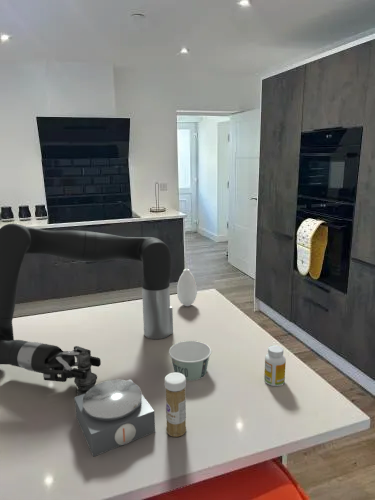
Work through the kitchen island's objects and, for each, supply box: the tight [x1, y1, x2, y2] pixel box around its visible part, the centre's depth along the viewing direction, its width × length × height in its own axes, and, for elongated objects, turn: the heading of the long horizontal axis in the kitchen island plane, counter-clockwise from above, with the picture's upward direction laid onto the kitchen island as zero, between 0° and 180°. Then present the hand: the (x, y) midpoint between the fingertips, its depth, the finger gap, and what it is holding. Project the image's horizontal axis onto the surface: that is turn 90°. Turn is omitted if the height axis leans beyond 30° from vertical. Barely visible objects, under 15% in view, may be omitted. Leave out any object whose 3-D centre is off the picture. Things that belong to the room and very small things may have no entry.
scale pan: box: [83, 379, 143, 421], centre depth 85 cm, size 13×13×3 cm
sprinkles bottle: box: [164, 372, 187, 438], centre depth 83 cm, size 5×5×13 cm
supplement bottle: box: [263, 344, 286, 387], centre depth 101 cm, size 5×5×10 cm
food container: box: [168, 340, 212, 381], centre depth 107 cm, size 12×12×6 cm
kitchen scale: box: [73, 379, 156, 457], centre depth 86 cm, size 14×15×5 cm
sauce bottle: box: [176, 263, 198, 307], centre depth 152 cm, size 8×8×18 cm
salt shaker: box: [73, 350, 98, 396], centre depth 98 cm, size 6×6×12 cm
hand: (93, 368), depth 97 cm, fingers open, 5 cm apart
